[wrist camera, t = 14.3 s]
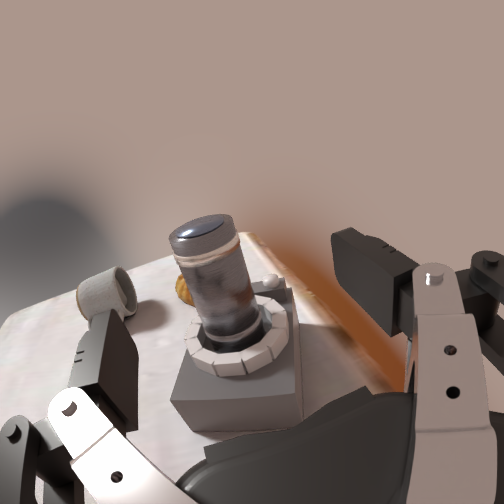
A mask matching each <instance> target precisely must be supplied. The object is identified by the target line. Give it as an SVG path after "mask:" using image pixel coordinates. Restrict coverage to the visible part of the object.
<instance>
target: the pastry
mask: <svg viewBox="0 0 504 504" xmlns="http://www.w3.org/2000/svg"><path fill="white" fill-rule="evenodd" d="M175 289H176V292H177V294H178V297H179V298H180V299H181V300H182V301H184V302H185V303H186V304H189V305H192V306H194V307H195V305H194V302H193V300H192V297H191V295H190V292H189V290H188V288H187V285H186V283H185V280H184V278H183V275H182V274H181V275H180V276H179V277H178V279H177V282H176V287H175Z"/></svg>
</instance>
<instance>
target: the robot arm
mask: <svg viewBox="0 0 504 504" xmlns="http://www.w3.org/2000/svg"><path fill="white" fill-rule="evenodd" d="M331 245H332V253H333V261H334V270H335V275H336V277H337V280H338V282H339V284H340V286H341V287H342V288H343V289H344V290H345V291H346V292H347V293H348V294H349V295H350V296H351V297H352V298H353V299H354V300H355V301H356V302H357V303H358V304H359V305H360V306H361V307H362V308H363V309H364V310H365V311H366V312H367V313H368V314H369V315H370V316H371V317H372V318H373V319H374V320H375V321H376V323H377V324H378V325H379V326H380V327H381V328H382V329H383V330H384V331H385V332H386V333H387V334H388V335H389V336H390V337H393V336H395V335H397V334H399V333H401V332H404V334H405V335H406V336H407V348H406V371H405V385H404V392H388V393H381V394H375V395H372V394H371V392H370V391H369V390H368V388H367V387H366V386H364V387H362V388H360V389H358V390H355V391H353V392H351V393H349V394H347V395H345V396H343V397H341V398H339V399H336V400H334V401H332V402H330V403H328V404H326V405H325V406H324V407H322V408H321V409H320V410H318V411H317V412H315V413H314V414H312V415H311V416H310V417H308V418H307V419H305V420H304V421H302V422H301V423H299V424H298V425H296V426H295V427H293V428H291V429H287V430H281V431H274V432H267V433H258V434H249V435H243V436H240V437H236V438H233V439H230V440H226V441H223V442H219V443H216V444H212V445H208V446H205V447H204V451H205V456H206V459H204V460H202V461H200V462H199V463H197V464H196V465H194V466H193V467H192V468H190V469H189V470H188V471H187V472H185V473H184V475H183V476H182V477H181V478H180V479H179V480H178V481H177V482H176V483H175V482H174V481H173V480H171V479H170V478H169V477H168V476H167V475H165V474H164V473H163V472H162V471H161V470H160V469H159V468H157V467H156V466H155V465H154V464H153V463H152V462H151V461H150V460H149V459H148V458H146V457H145V456H144V455H143V454H142V453H141V452H140V451H139V450H138V449H137V448H136V447H135V446H134V445H133V444H132V443H131V442H130V441H129V440H128V439H127V438H126V432H131V431H136V430H138V363H139V356H138V351H137V348H136V345H135V343H134V341H133V339H132V337H131V336H130V334H129V332H128V330H127V329H126V327H125V325H124V323H123V322H122V320H121V318H120V316H119V314H118V313H117V311H116V310H115V309H110V310H107V311H104V312H101V313H98V314H95V315H94V316H93V319H92V323H91V327H90V330H89V331H87V332H86V333H85V334H84V336H83V337H82V339H81V340H80V341H79V344H78V348H77V351H76V354H77V355H75V359H74V363H73V367H72V371H71V375H70V379H69V383H68V388H67V390H65V391H63V392H61V393H60V394H59V395H58V396H56V398H55V399H54V400H53V401H52V403H51V405H50V408H49V416H48V417H46V418H44V419H42V420H40V421H38V422H36V423H34V424H32V423H31V422H30V421H29V420H28V419H27V418H25V417H24V416H21V415H18V416H14V417H12V418H10V419H9V420H8V421H7V422H6V423H5V424H4V426H3V427H2V429H1V431H0V504H38V503H37V501H36V498H35V480H36V476H38V477H39V478H40V479H42V480H43V481H44V492H43V504H85V502H84V486H85V487H86V488H87V490H88V491H89V492H90V494H91V495H92V497H93V498H94V499H95V500H96V502H97V503H98V504H504V413H498V412H493V411H489V409H488V398H487V389H486V380H485V372H484V366H483V359H482V354H483V355H484V356H485V357H486V358H487V359H488V360H489V361H490V362H491V363H492V364H493V365H494V366H495V367H496V368H497V369H498V370H499V371H500V372H501V373H502V375H503V376H504V320H503V319H502V318H501V317H500V316H499V315H497V312H498V308H499V304H500V302H501V303H502V304H503V305H504V256H503V255H501V254H499V253H497V252H493V251H479V252H477V253H475V254H474V255H473V256H472V259H471V267H470V269H466V270H461V271H457V272H454V271H453V270H452V269H451V268H450V267H448V266H446V265H444V264H440V263H426V264H422V265H419V264H418V263H416V262H415V261H413V260H412V259H410V258H409V257H407V256H406V255H404V254H403V253H401V252H399V251H396V249H395V248H394V247H392V246H389V244H387V243H386V242H384V241H383V240H381V239H379V238H376V237H372V236H368V235H366V236H364V235H363V234H361V233H360V232H358V231H357V230H355V229H354V228H351V227H350V228H347V229H344V230H341V231H338V232H335V233H333V234H332V235H331Z"/></svg>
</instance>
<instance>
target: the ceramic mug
mask: <svg viewBox="0 0 504 504" xmlns="http://www.w3.org/2000/svg"><path fill="white" fill-rule="evenodd" d="M76 301H77V305H78V308H79V310H80V312H81V314H82V315H83V317H84V318H85V319H86V320H87V321H88V328H89V330H90V327H91V323H92V319H93V316H94V315H95V314H98V313H101V312H104V311H107V310H110V309H115V310H116V311H117V313H118V314H119V316H120V318H121V320H122V322H123V321H124V317H126V316H130V315H133V314H134V313H135V312H136V310H137V296H136V292H135V289H134V286H133V284H132V281H131V279H130V277H129V275H128V274H127V272H126V271H125V270H124V269H123V268H122V267H120V266H116V267H113V268H111V269H109V270H107V271H105V272H102V273H100V274H98V275H95V276H93V277H91V278H88V279H87V280H85V281H83V282H82V283H81V284H80V285H79V286H78V288H77V291H76Z"/></svg>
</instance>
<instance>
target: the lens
mask: <svg viewBox="0 0 504 504" xmlns="http://www.w3.org/2000/svg"><path fill="white" fill-rule="evenodd" d="M169 241H170V244H171V246H172V249H173V250H172V253H173V255H174V258H175V261H176V263H177V264H178V265H179V267H180V270H181V272H182V275H183V278H184V280H185V283H186V285H187V288H188V290H189V292H190V295H191V297H192V300H193V302H194V305H195V307H196V310H197V312H198V314H199V317H200V319H201V321H202V324H203V329H204V331H205V334H206V336H207V338H208V340H209V341H210V342H211V344H212V347H213V349H214V351H215V352H216V353H217V354H223V353H233V352H241V351H243V350H245V349H247V348H249V347H251V346H253V345H255V344H257V343H259V342H260V341H261V340H262V339H263V338H264V337H265V335H266V332H265V328H264V325H263V317H262V314H261V311H260V308H259V306H258V305H257V301H256V298H255V294H254V291H253V288H252V284H251V281H250V277H249V274H248V271H247V267H246V264H245V260H244V257H243V254H242V250H241V247H240V239H239V235H238V232H237V230H236V229H235V227H234V223H233V219H232V217H231V216H230V215H225V214H217V215H210V216H205V217H200V218H197V219H194V220H192V221H190V222H187V223H186V224H184V225H182V226H180V227H179V228H177V229H176V230H174V231H173V232H172V233H171V234H170V236H169Z"/></svg>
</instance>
